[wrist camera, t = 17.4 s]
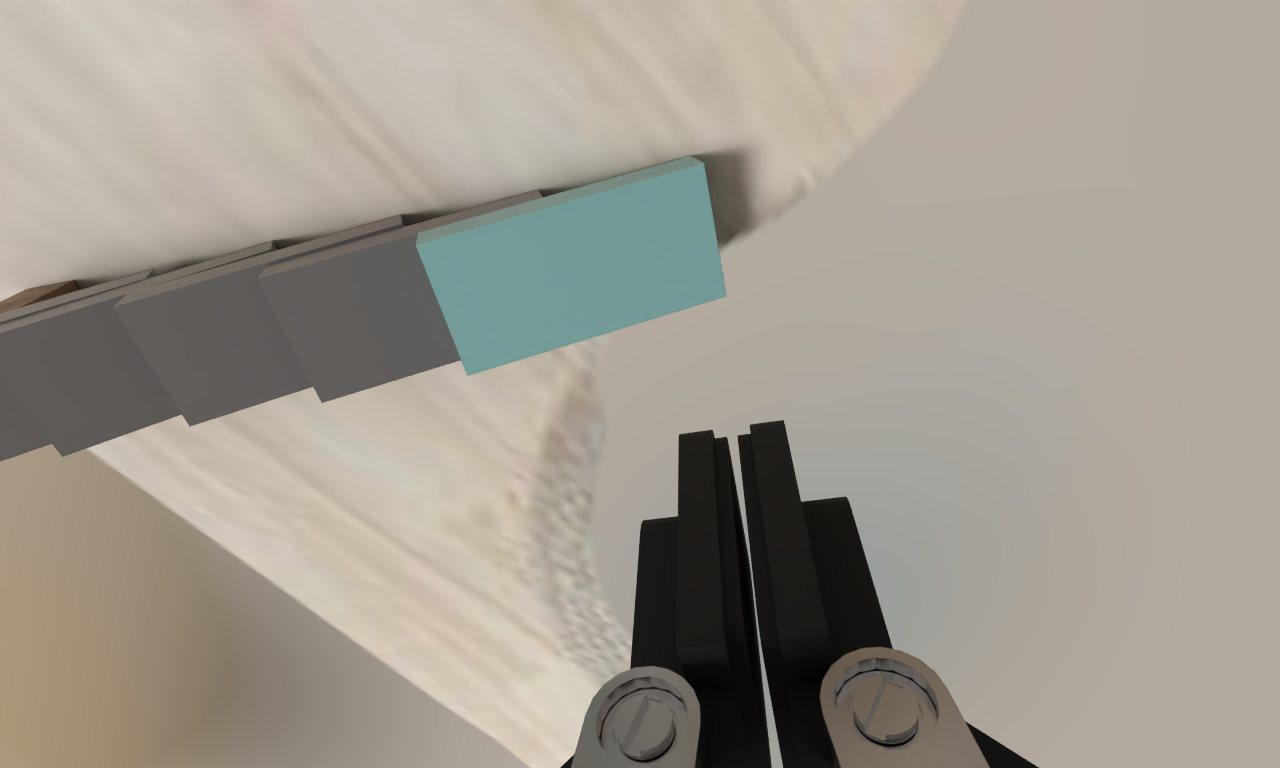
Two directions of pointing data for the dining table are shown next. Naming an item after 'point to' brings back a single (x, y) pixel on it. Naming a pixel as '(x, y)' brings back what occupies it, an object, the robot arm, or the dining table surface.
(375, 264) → the domino
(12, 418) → the domino
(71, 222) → the dining table surface
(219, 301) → the domino
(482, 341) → the teal domino
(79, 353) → the domino
